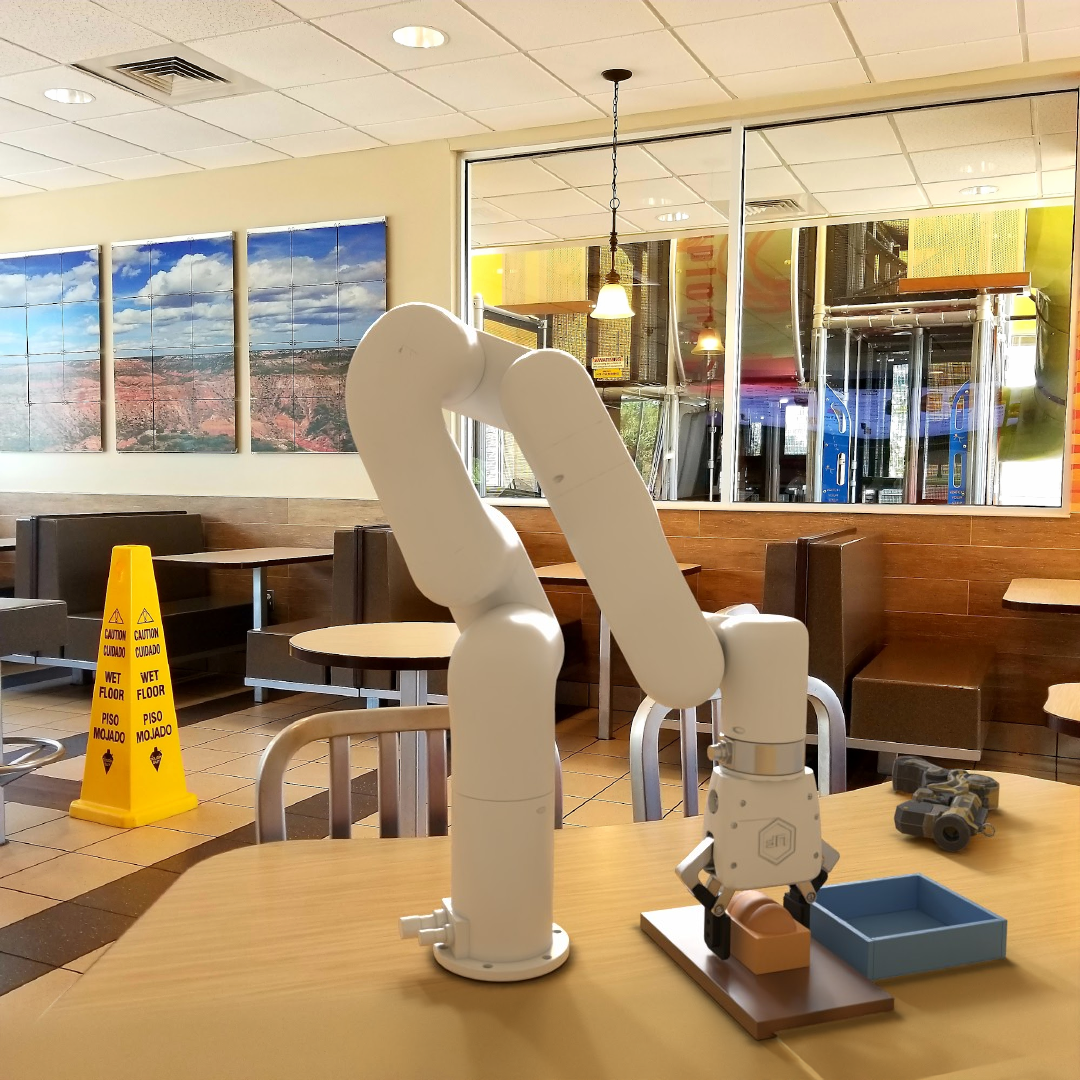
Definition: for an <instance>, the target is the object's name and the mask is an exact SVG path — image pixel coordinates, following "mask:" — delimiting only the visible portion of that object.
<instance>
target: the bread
mask: <svg viewBox="0 0 1080 1080" xmlns="http://www.w3.org/2000/svg"><path fill="white" fill-rule="evenodd" d="M725 913H727V914H728V915H729V916H730V918H731V940H730V953H731V954H732V955H733V956H735V957H736V958H737V959H738V960H739V961H740V962H742V963H743V964H744V965H745V966H746V967H747V968H749V969H750V970H751V971H752V972H753V973H754V974H756V975H759V974H765V973H771V972H777V971H783V970H789V969H796V968H802V967H808V966H810V939H811V931H810V930H808V929H807V928H806V927H804V926H803V925H802V924H800V923H799V922H797V921H796V920H795V919H793V917H792V916H791V914H790V913H789V912H788V911H787V910H786V909H785V908H784V907H783V905H782V904H780V903H779V902H777V901H776V900H775V899H774V898H772V897H771V896H769V895H768V894H766V893H764V892H762V891H760V890H757V889H754V890H745V891H739V892H737V893H736V894H734V895H733V897H732V899H731V901H730V903H729V905H728V907H727V909H726V911H725Z"/></svg>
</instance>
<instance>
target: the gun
mask: <svg viewBox="0 0 1080 1080" xmlns="http://www.w3.org/2000/svg"><path fill="white" fill-rule="evenodd" d="M891 784H892V791H893V792H895V791H896V792H903V794H908V795H909V794H911V795H912V797H911V799H909V800H906V801H904V802H902V803H899V804H897V805H896V808H895V811H894V816H893V821H894V827H895V829H896V830H897V831H898V832H899V833H901V834H903V835H907V836H908V835H909V836H915V837H919V838H928V839H931V840H932V839H934V841H935V843H936V844H937V846H938V847H939V848H941V849H942V850H944V851H947V852H959V851H962V850H964V849H965V848H966V847H967V846H968V845H969V844H970V841H971V838H972V837H976V836H978V835H979V834H980V833H981V834H982V835H983V836H984V837H985V838H991V837H994V836H995V834H996V828H995V826H994V825H993V824H992V823H988V822H987V820H988V817H989V812H992V811H994V810H997V809H998V808H999V803H1000V782H999V781H997V780H995V779H994V778H993V777H991V776H988V775H984V774H979V773H969V772H968V771H967V770H966V769H962V768H956V769H955V768H954V769H947V768H944V767H942V766H939V765H936V764H934V763H931V762H929V761H927V760H926V759H923V758H922V757H920V756H918V755H899V756H898V757H896V758H895V759H894V761H893V766H892V771H891ZM987 827H991V828H992V830H993V831H992V833H990V834H987V833H986V832H984V831H987Z"/></svg>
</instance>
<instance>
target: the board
mask: <svg viewBox="0 0 1080 1080" xmlns="http://www.w3.org/2000/svg"><path fill="white" fill-rule="evenodd" d="M704 909H705V907H704V906H703V905H702V904H695V905H689V906H681V907H673V908H667V909H658V910H650V911H645V912H640V916H639V917H640V919H639V928H640V929H641V930H642V931H644V933H645V934H646V935H648V937H649V938H650V939H652V940H653V941H654V942H655V943H656V945H658V946H659V948H661V949H662V950H663V951H664V952H665V953H666V954H667V955H668V956H669V957H670V958H671V959H672V960H673V961H674V962H675V963H676V964H677V965H679V966H680V968H681V969H682V970H684V971H685V972H686V973H687V974H688V975H689V976H690V977H691V978H692V979H693V980H694V981H695V982H696V983H697V984H698V985H699V986H700V987H701V988H702V989H703V990H705V992H706V993H707V994H708V995H709V996H710V997H712V999H713V1000H715V1002H716V1003H718V1004H719V1005H720V1006H721V1007H722V1008H723V1009H724V1010H725V1011H726V1012H727V1013H728V1014H729V1015H730V1016H731V1017H732V1018H733V1019H734V1020H735V1021H736V1022H738V1024H739V1025H740V1026H741V1027H743V1028H744V1029H745V1030H746V1031H747V1033H749V1034H750V1035H751V1036H752V1037H753V1039H755V1040H756V1041H761V1040H765V1039H770V1038H776V1037H778V1035H777V1034H776V1033H777V1032H782V1031H788V1030H793V1029H798V1028H799V1029H800V1028H803V1027H809V1026H816V1025H819V1024H825V1023H831V1022H837V1021H841V1020H847V1019H853V1018H858V1017H864V1016H869V1015H873V1014H879V1013H886V1012H891V1011H895V997H894V996H893V995H892V994H890V993H888V992H887V991H886V990H885V989H883V988H882V987H881V986H879V985H878V984H877V983H875V982H874V981H873V980H872V981H871V980H869V979H868V978H867V977H865V976H864V975H863V974H861V973H860V972H858V971H857V970H856V969H854V968H853V967H852V966H850V965H849V964H847V963H846V962H845V961H843V960H842V959H841V958H839V957H838V956H836V955H835V954H834V953H832V952H831V951H830V950H828V949H827V948H825V947H824V946H823V945H821V944H820V943H819V942H817V941H816V940H814V939H813V938H812V937H811V939H810V966H808V967H802V968H796V969H789V970H783V971H777V972H771V973H765V974H759V975H756V974H754V973H753V972H752V971H751V970H750V969H749V968H747V967H746V966H745V965H744V964H743V963H742V962H740V961H739V960H738V959H737V958H736V957H735V956H733V955H732V954H731V953H730V957H729V958H728V959H727V960H721V959H720V958H719V957H718V956H717V955H715V954H714V953H713V952H712V951H711V950H710V949H709V948H708V947H707V945H706V943H705V941H704Z"/></svg>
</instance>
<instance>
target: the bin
mask: <svg viewBox="0 0 1080 1080" xmlns="http://www.w3.org/2000/svg"><path fill="white" fill-rule="evenodd" d="M816 894H817V899H816V901H815V902H814V903H812V904H810V931H811V937H812V938H813V939H814V940H816V941H817V942H819V943H820V944H821V945H823V946H824V947H825V948H827V949H828V950H830V951H831V952H832V953H834V954H835V955H836V956H838V957H839V958H841V959H842V960H843V961H845V962H846V963H847V964H849V965H850V966H852V967H853V968H854V969H856V970H857V971H858V972H860V973H861V974H863V975H864V976H865V977H867V978H868V979H869V980H871V981H872V982H873V981H877V980H883V979H889V978H890V979H891V978H895V977H901V976H906V975H907V976H908V975H913V974H919V973H924V972H930V971H935V970H943V969H947V968H954V967H959V966H964V965H971V964H976V963H982V962H989V961H994V960H999V959H1005V958H1006V957H1007V942H1008V941H1007V939H1008V919H1006V918H1004V917H1003V916H1001V915H999V914H998V913H996V912H994V911H992V910H990V909H987V908H986V907H984V906H983V905H980V904H978V903H977V902H975V901H973V900H971V899H969V898H968V897H965V896H964V895H962V894H960V893H958V892H957V891H954V890H953V889H951V888H949V887H947V886H945V885H944V884H941V883H940V882H938V881H936V880H934V879H933V878H931V877H929V876H926V875H925V874H923V873H921V872H913V873H907V874H899V875H891V876H883V877H876V878H868V879H862V880H854V881H848V882H840V883H833V884H832V883H831V884H823V886H822V887H821V888H820V889H819V891H818V892H817V893H816Z"/></svg>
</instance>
